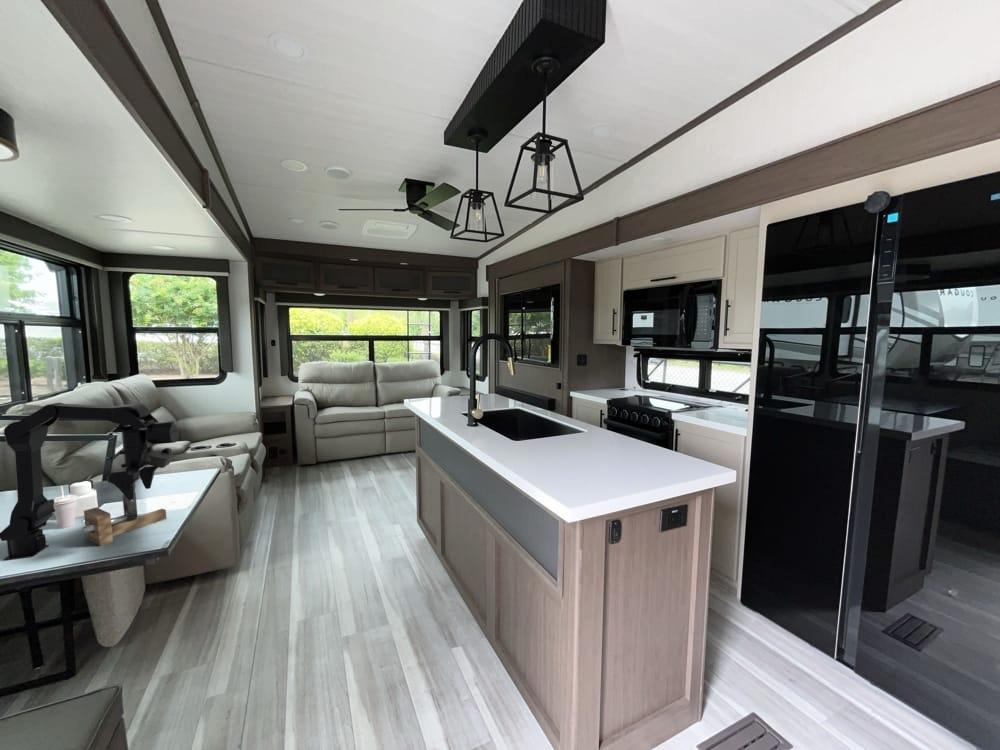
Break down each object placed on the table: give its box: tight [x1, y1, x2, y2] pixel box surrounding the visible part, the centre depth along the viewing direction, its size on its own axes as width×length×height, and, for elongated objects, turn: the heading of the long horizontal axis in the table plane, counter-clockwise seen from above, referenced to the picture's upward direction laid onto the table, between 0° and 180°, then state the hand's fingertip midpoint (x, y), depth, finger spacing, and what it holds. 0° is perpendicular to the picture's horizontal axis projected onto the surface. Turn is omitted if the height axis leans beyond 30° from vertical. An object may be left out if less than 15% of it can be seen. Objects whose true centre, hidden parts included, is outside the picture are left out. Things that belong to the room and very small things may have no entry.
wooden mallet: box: [84, 507, 167, 547], centre depth 132 cm, size 18×10×9 cm, turn 152°
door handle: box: [81, 492, 139, 535], centre depth 128 cm, size 13×3×8 cm, turn 152°
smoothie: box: [53, 485, 78, 530], centre depth 134 cm, size 6×6×14 cm
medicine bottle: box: [68, 479, 99, 519], centre depth 143 cm, size 7×7×12 cm
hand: (140, 494), depth 125 cm, fingers open, 9 cm apart
